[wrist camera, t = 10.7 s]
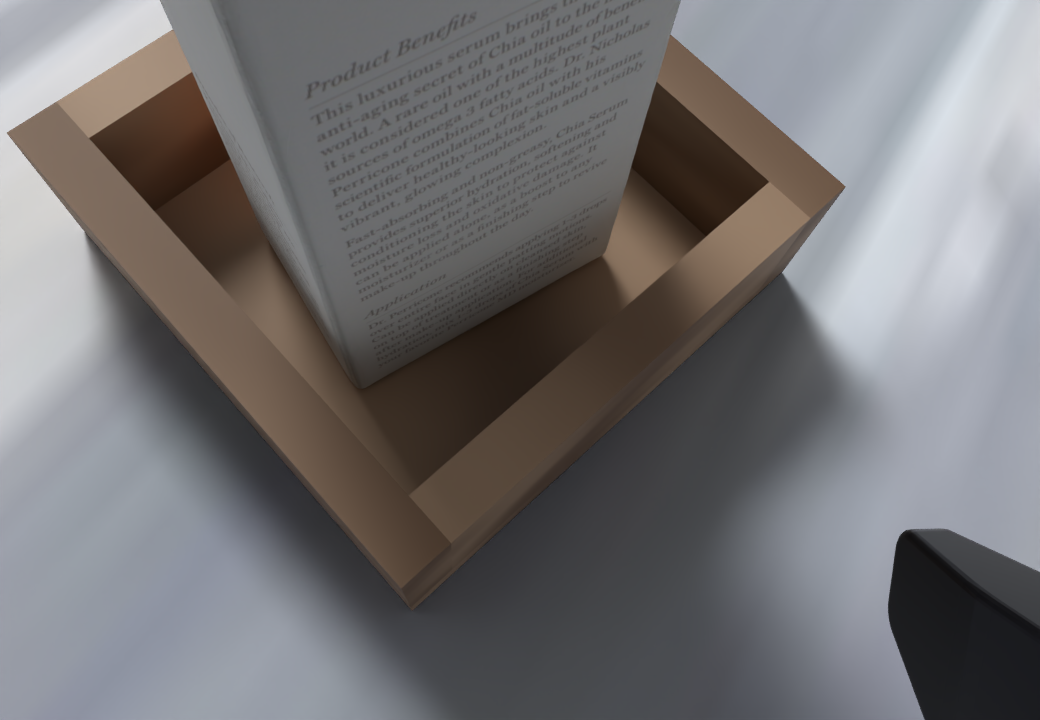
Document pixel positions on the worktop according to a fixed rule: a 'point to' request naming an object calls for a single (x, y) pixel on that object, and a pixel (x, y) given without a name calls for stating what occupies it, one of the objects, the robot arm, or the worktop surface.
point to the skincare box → (426, 149)
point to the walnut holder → (464, 359)
